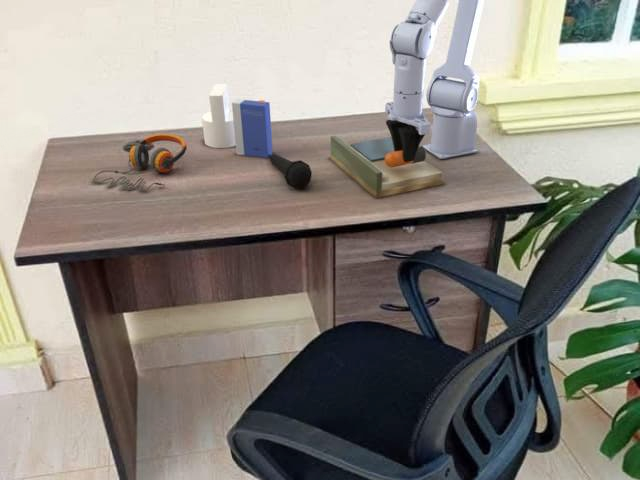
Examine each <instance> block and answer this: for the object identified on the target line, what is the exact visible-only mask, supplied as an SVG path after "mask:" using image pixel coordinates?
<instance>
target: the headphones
mask: <svg viewBox="0 0 640 480" xmlns="http://www.w3.org/2000/svg"><path fill="white" fill-rule="evenodd" d="M164 141H165V142H173V143H177V144H179V145H180V146H181V150H180V151H179V152H178V153H177V154H175V155H173V154H172V152H171V151H170V150H169V149H167V148H166V147H157V149H155V150H154V151H153V152H152V154H151V155H150V154H149V149H148V148H147V146H146V145H149V144H153V143H156V142H164ZM187 149H188V147H187V143H186V141H185V140H184V138H182V137H181V136H179V135H176V134H172V133H156V134H152V135H148V136H146V137H144V138H143V139H142V140H141V141H139V142H138V143H137V144H136V145H134V146H132V147H130V150H129V154H128V158H129V160H128V162H127V163H128V167H129V168H130V170H128V171H118V170H109V169H107V170H102V171H99V172H98V173H96V174H95V175H94V176H93V182H94V183H96V184H101V183H103V182H106V181H108V180H109V181H110V180H111V182H110V183H109V184H108V186H107V188H108V189H110V188H112V187H113V186H115V184H116V183H119V185H121V186H122V187H121V190H122V191H125V190H127V191H131V190H132V189H134V187H135V189H138V188H139V191H141V192H146V191H148V190H149V189H150V188H151V187H152V186H153V185H157V186H164V187H165V186H166V184H163V183H161V182H153V183H151V184H150V185H149V186H148V187H146V188H145V189H142V188H143V187H144V186H145V184H146V183H147V181H146V180H145V179H144V178H143V177H141V178H139V179H138V180H136V182H135V183H133V182H131V179H129V178H128V179H127V176H126V175H139V174H144V173H145V174H146V173H147V172H148V173H149V172H152V171H153V172H156V173H157V174H164V173H169V172H170V171H171V170H172V169H173V167H174V165H175V163H176V162H177V161H179V160H180V159H181V158H182V157H183V156H184V155H185V153H186V151H187ZM149 164H150V168H151V169H147V167H148V166H149ZM131 165H132V166H133V167H134V168H138V169H139V170H144V171H141V172H132V171H133V167H132V166H131ZM146 169H147V170H146ZM107 172H108V173H109V172H110V173H115V174H120V175H123V176H121V177H119V178H118V179H117V180H115V179H114V178H113V177H108V178H106V179H104V180H103V179H102V180H101V181H96V177H97V176H98V175H100V174H102V173H107ZM126 179H127V180H126ZM120 180H121V181H120ZM114 181H115V182H114ZM119 181H120V182H119ZM130 182H131V183H130Z"/></svg>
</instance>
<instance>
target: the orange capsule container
mask: <svg viewBox="0 0 640 480" xmlns="http://www.w3.org/2000/svg"><path fill="white" fill-rule="evenodd" d="M426 157H427V152H426V149H425V148H423V145H422V146H421V145H419V147H418V150H417V152H416V155H415V158H414V161H410V162H404V160H403V151H402V150H400V151H395V152H391V153H388V154H387V155H386V156H385V164H386V165H387V166H388V167H397V166H402V165H407V164H413V163H418V162H423V161H424V160H425V161H426Z"/></svg>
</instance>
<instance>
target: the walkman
mask: <svg viewBox="0 0 640 480" xmlns="http://www.w3.org/2000/svg"><path fill="white" fill-rule="evenodd" d="M231 110H233V122H234V132H235V143H236V146H235V151H236V152H235V153H236V155H238V156H239V155H240V156H248V157H256V158H265V159H268V158H269V157H268V155H274V153H273V152H274V151H273V139H272V121H271V105H270V102H269V101H266V100H263V99H259V100H249V99H240V98H237V99H235V100H234V101H232V102H231Z"/></svg>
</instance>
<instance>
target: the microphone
mask: <svg viewBox="0 0 640 480" xmlns="http://www.w3.org/2000/svg"><path fill="white" fill-rule="evenodd" d="M268 158H269V161H270V163H271V165H273V166H274V167H275V168H276V169H277V170H278V171H279V172H281V174H283V177H284V179H285V182H286V184H287V185H288V186H289V187H291V188H292V189H294V190H298V189H304V188H305V187H307V185H308V184H309V183H311V179H312V175H313V172H312V169H311V167H310V164H308V163H306V161H305V162H304V161H303V160H300V159H299V160H294V161H291V160H289V159H287V158H286V157H282V156H281V155H279V154H274V153H273V154H272V155H268Z"/></svg>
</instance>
